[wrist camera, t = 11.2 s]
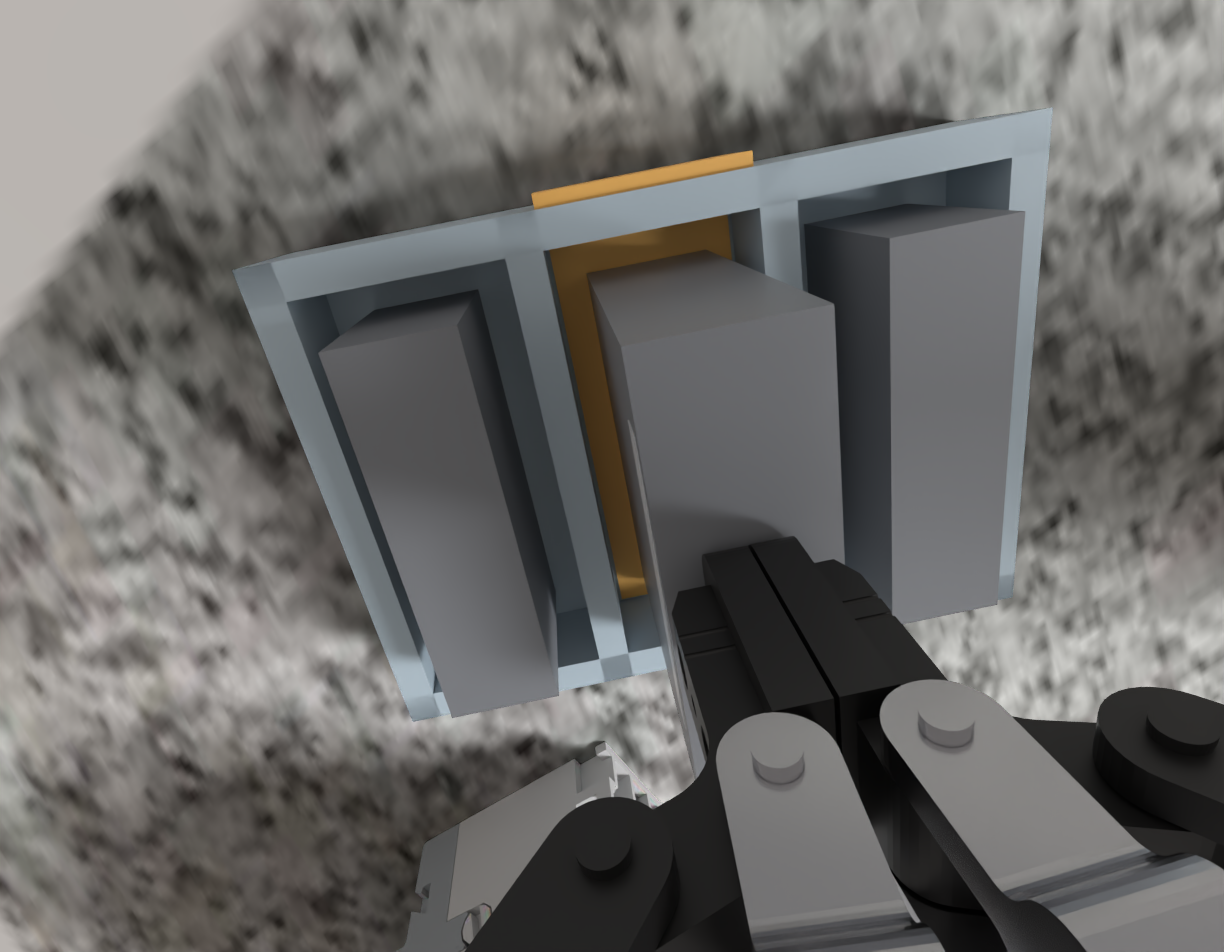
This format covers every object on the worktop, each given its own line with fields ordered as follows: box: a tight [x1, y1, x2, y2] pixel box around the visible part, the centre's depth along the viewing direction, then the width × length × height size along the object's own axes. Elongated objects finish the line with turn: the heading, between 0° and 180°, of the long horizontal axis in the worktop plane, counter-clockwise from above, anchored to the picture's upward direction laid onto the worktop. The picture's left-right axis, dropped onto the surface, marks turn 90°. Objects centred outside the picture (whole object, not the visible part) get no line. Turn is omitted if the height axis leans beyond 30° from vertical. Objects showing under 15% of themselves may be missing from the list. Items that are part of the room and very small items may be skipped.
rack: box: [232, 107, 1053, 722], centre depth 17 cm, size 17×12×6 cm
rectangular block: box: [586, 250, 845, 780], centre depth 15 cm, size 3×9×8 cm, turn 10°
